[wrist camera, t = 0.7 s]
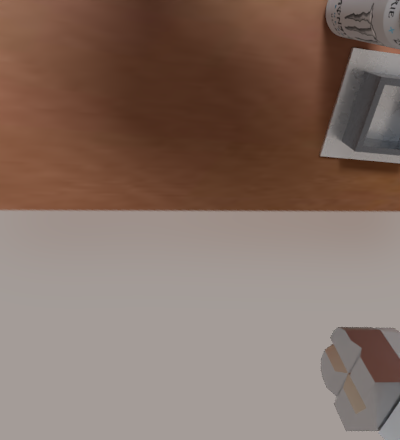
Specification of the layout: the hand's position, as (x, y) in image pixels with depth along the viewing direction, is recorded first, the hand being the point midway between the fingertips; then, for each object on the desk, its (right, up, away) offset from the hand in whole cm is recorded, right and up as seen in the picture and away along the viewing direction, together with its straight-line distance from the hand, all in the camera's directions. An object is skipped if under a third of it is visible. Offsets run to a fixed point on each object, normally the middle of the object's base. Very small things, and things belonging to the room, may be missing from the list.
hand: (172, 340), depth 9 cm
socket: (+25, +18, +42) cm, 52 cm away
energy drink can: (+18, +28, +35) cm, 48 cm away
